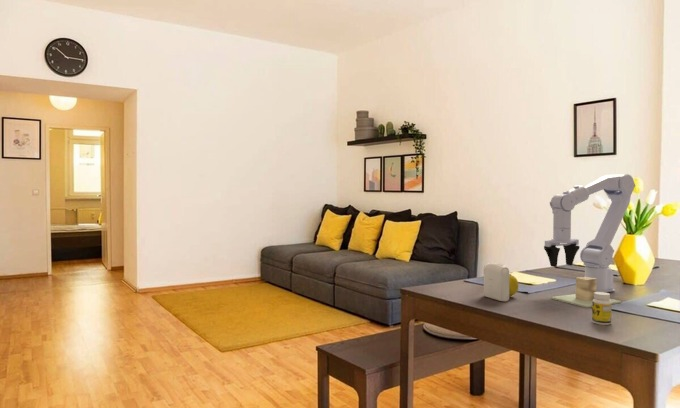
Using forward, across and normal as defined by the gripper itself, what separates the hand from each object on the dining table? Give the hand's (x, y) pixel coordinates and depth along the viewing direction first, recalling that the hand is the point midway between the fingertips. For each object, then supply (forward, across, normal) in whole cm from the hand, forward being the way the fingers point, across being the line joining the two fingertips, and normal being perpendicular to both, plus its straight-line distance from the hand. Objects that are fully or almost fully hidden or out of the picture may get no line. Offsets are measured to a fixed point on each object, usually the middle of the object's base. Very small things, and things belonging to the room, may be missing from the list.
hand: (561, 265), depth 178 cm
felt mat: (+10, +2, +12) cm, 16 cm away
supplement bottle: (+10, +21, +33) cm, 40 cm away
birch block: (+9, +2, +12) cm, 15 cm away
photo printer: (+10, +27, -3) cm, 29 cm away
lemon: (+10, +21, -3) cm, 23 cm away
